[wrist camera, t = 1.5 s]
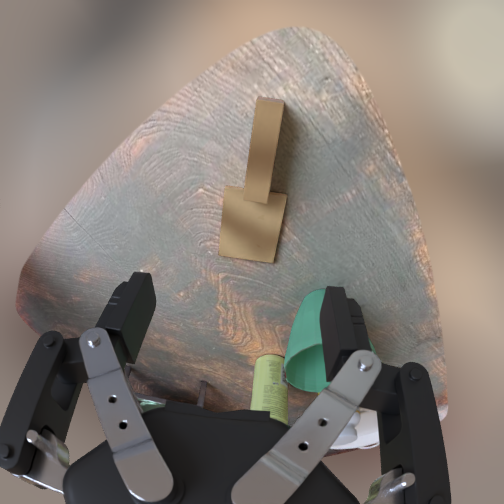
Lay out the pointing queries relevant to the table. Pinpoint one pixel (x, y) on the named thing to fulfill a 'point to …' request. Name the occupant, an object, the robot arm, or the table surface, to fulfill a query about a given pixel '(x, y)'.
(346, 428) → the pill bottle
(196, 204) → the table surface
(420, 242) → the table surface
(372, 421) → the pan
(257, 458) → the robot arm
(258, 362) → the tube
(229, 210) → the spatula
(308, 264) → the table surface
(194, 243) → the table surface
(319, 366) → the mug
